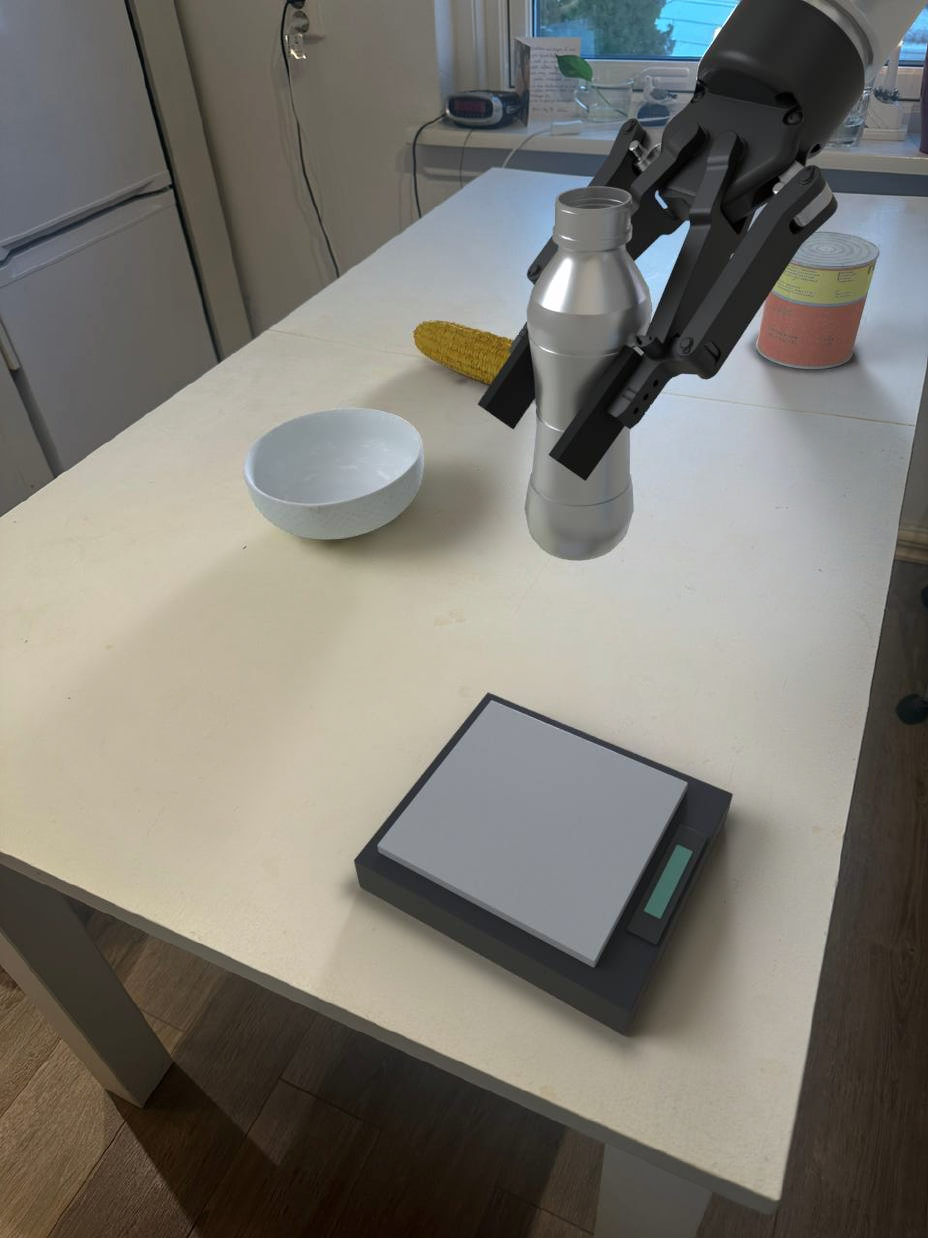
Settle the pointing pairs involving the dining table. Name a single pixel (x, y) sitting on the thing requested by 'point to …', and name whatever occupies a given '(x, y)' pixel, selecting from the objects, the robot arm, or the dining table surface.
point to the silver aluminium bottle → (582, 369)
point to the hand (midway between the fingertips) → (530, 440)
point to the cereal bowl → (335, 472)
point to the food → (463, 348)
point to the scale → (549, 855)
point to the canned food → (818, 302)
